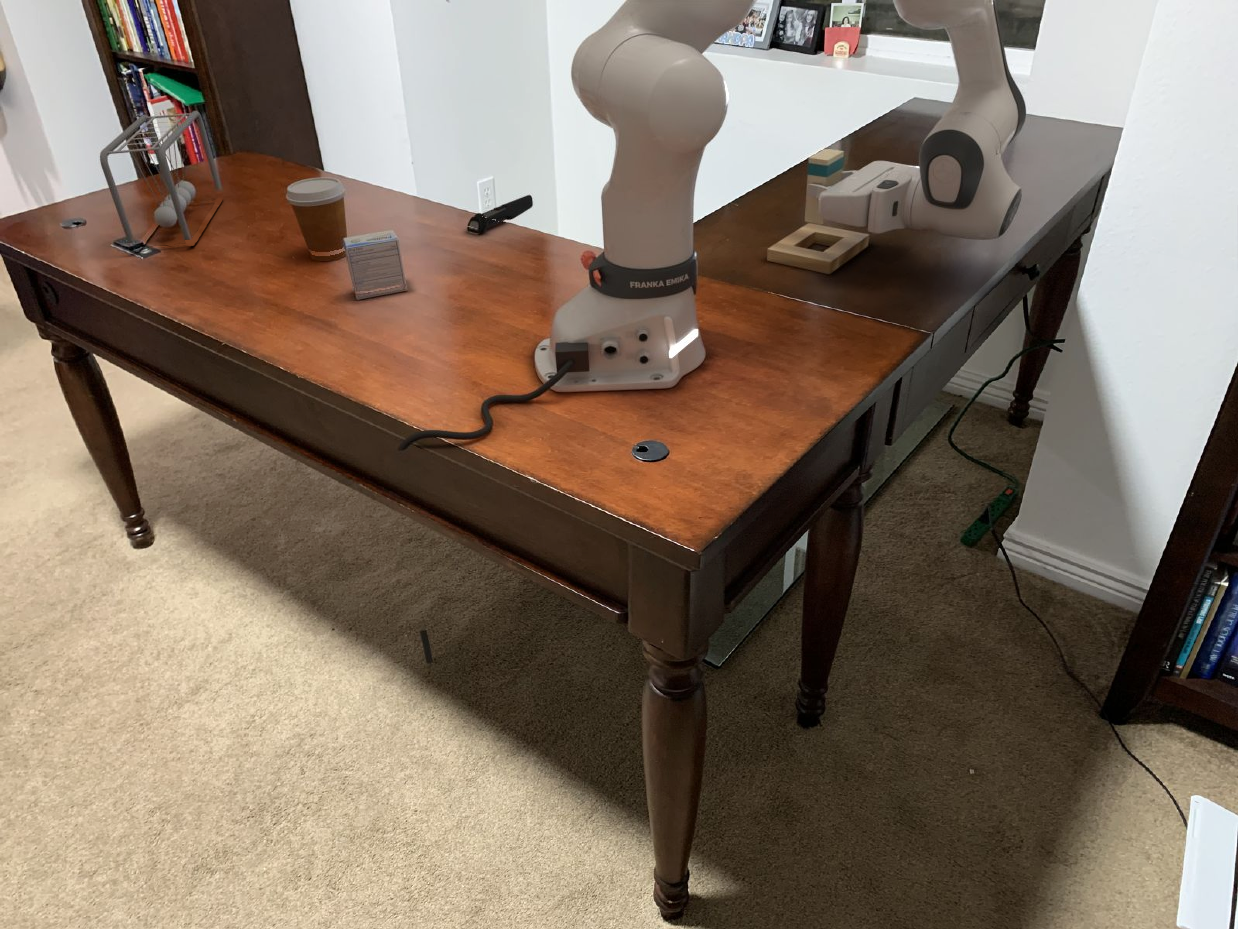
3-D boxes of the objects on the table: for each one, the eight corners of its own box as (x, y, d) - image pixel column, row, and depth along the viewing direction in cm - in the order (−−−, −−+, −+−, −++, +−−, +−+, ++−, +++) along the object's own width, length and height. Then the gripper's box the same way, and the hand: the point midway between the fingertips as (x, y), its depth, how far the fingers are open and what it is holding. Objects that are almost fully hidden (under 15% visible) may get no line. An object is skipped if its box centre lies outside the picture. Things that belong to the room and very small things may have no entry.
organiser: (829, 274, 142) (830, 262, 141) (766, 260, 148) (767, 248, 147) (868, 246, 151) (869, 234, 150) (807, 234, 157) (808, 222, 156)
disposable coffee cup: (296, 251, 160) (279, 182, 154) (350, 240, 164) (336, 172, 157) (307, 269, 153) (290, 197, 146) (364, 257, 157) (349, 187, 150)
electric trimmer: (539, 212, 173) (537, 195, 171) (480, 235, 163) (478, 218, 161) (524, 208, 175) (522, 192, 173) (465, 232, 165) (463, 214, 163)
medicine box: (403, 281, 147) (393, 228, 142) (408, 291, 143) (398, 237, 139) (353, 290, 145) (341, 237, 140) (357, 301, 141) (345, 246, 136)
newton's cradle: (172, 203, 187) (143, 112, 177) (225, 198, 188) (199, 107, 178) (131, 256, 162) (95, 153, 152) (193, 250, 163) (161, 148, 153)
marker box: (822, 225, 144) (828, 160, 138) (803, 221, 145) (808, 157, 140) (839, 214, 147) (844, 150, 142) (820, 211, 149) (825, 148, 143)
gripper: (933, 157, 141) (850, 145, 149) (877, 193, 128) (788, 179, 135) (927, 197, 145) (846, 184, 152) (872, 237, 132) (786, 221, 139)
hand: (818, 182), depth 144 cm, fingers closed on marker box, 5 cm apart
